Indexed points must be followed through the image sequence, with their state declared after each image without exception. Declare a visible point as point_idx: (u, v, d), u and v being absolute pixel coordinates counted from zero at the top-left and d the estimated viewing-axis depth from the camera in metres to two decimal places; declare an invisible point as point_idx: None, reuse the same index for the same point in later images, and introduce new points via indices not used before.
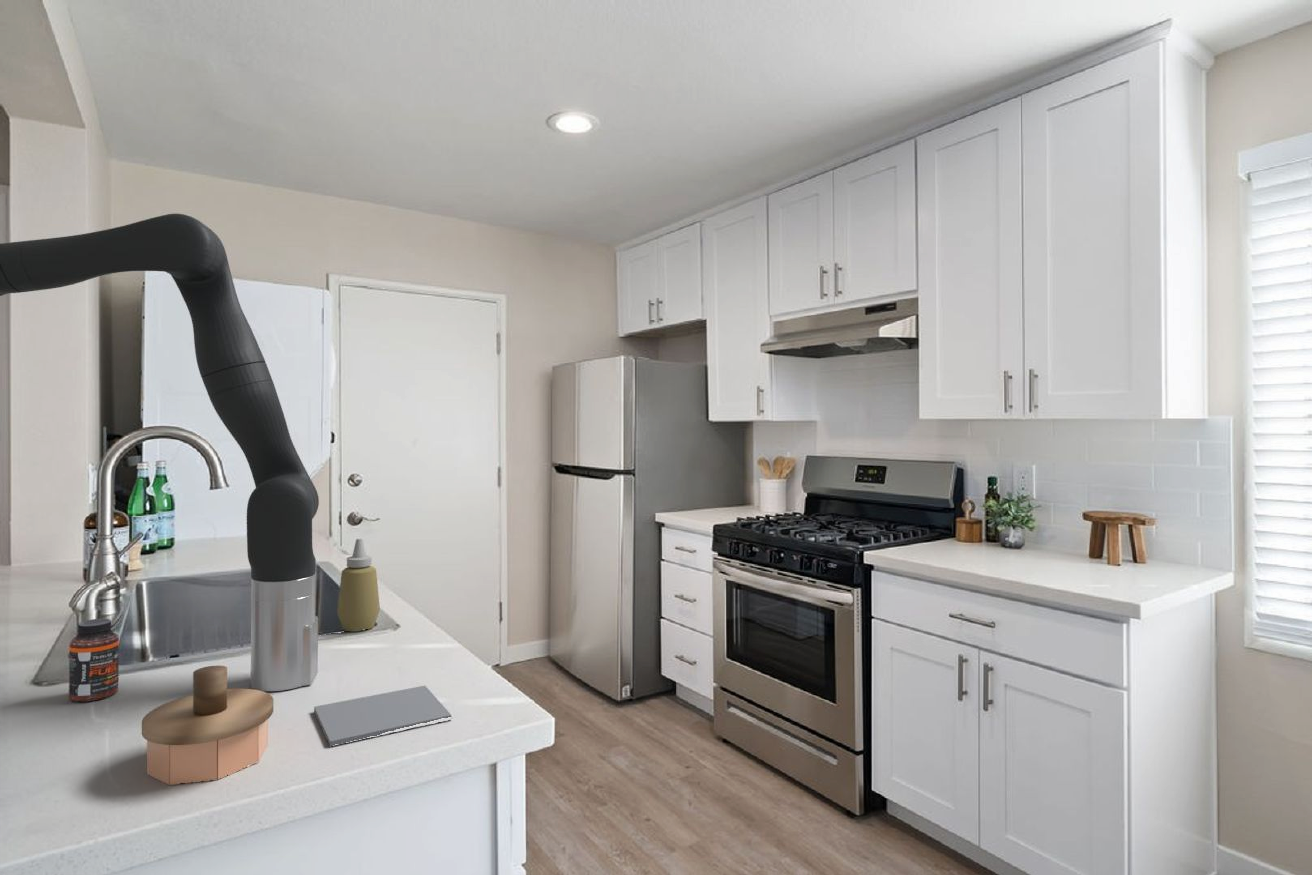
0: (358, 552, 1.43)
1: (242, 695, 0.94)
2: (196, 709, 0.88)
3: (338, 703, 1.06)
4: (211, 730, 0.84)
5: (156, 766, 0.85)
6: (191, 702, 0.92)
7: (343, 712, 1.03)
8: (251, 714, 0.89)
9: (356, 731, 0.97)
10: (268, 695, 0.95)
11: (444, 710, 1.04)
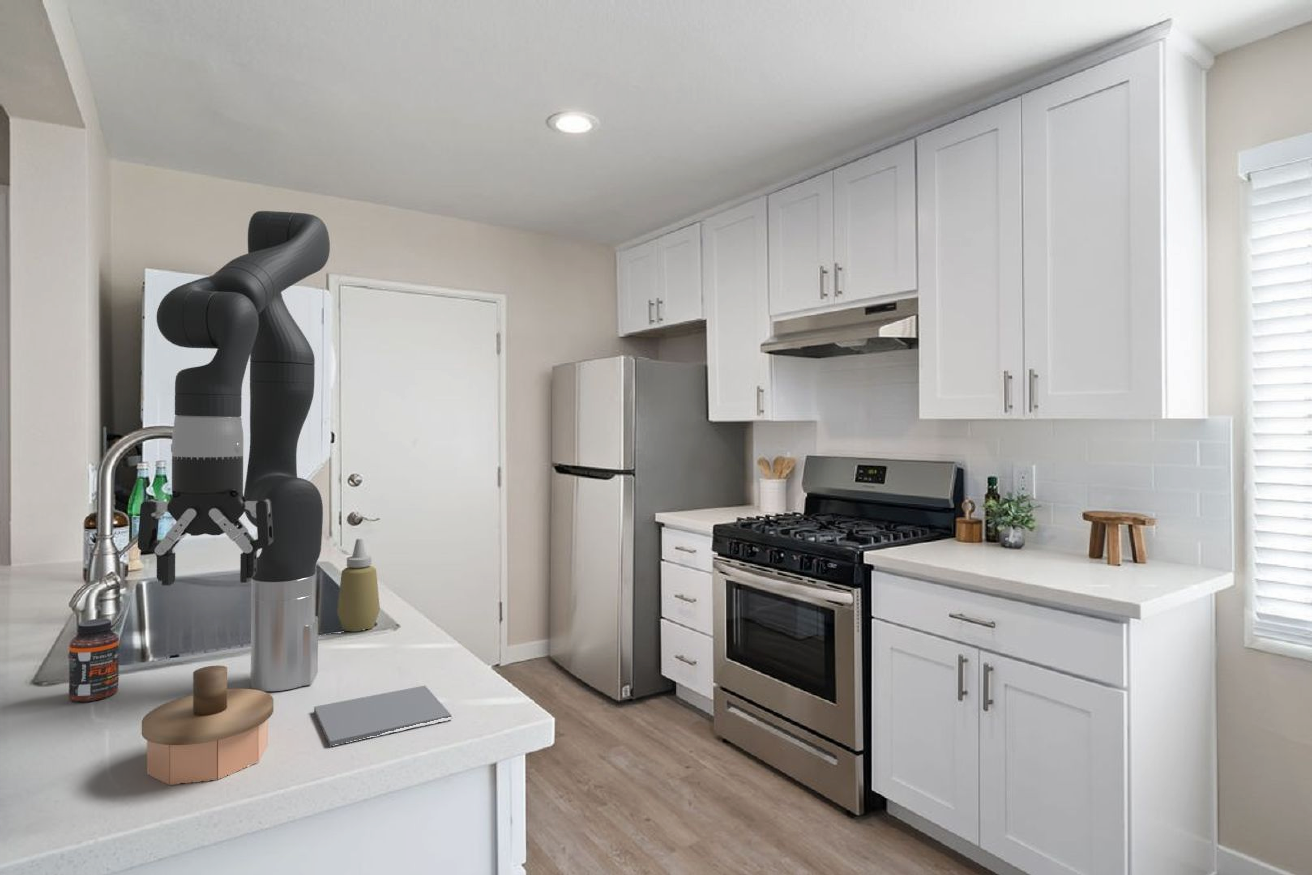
0: (358, 552, 1.43)
1: (242, 695, 0.94)
2: (196, 709, 0.88)
3: (338, 703, 1.06)
4: (211, 730, 0.84)
5: (156, 766, 0.85)
6: (191, 702, 0.92)
7: (343, 712, 1.03)
8: (251, 714, 0.89)
9: (356, 731, 0.97)
10: (268, 695, 0.95)
11: (444, 710, 1.04)
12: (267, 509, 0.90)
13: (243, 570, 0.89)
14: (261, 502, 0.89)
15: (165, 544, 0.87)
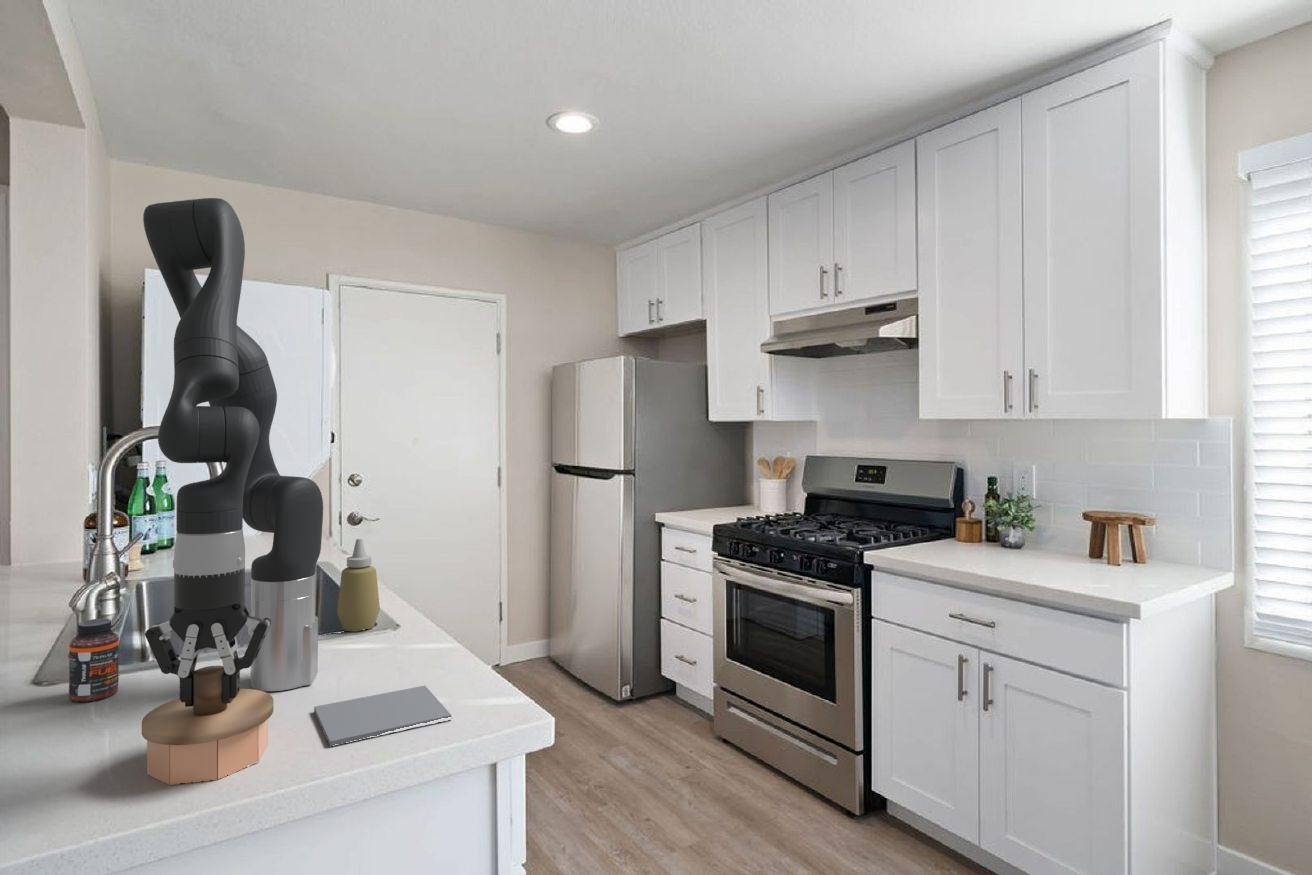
0: (358, 552, 1.43)
1: (242, 695, 0.94)
2: (196, 709, 0.88)
3: (338, 703, 1.06)
4: (211, 730, 0.84)
5: (156, 766, 0.85)
6: None
7: (343, 712, 1.03)
8: (251, 714, 0.89)
9: (356, 731, 0.97)
10: (268, 695, 0.95)
11: (444, 710, 1.04)
12: (265, 632, 0.91)
13: (226, 691, 0.89)
14: (262, 625, 0.90)
15: (185, 666, 0.88)
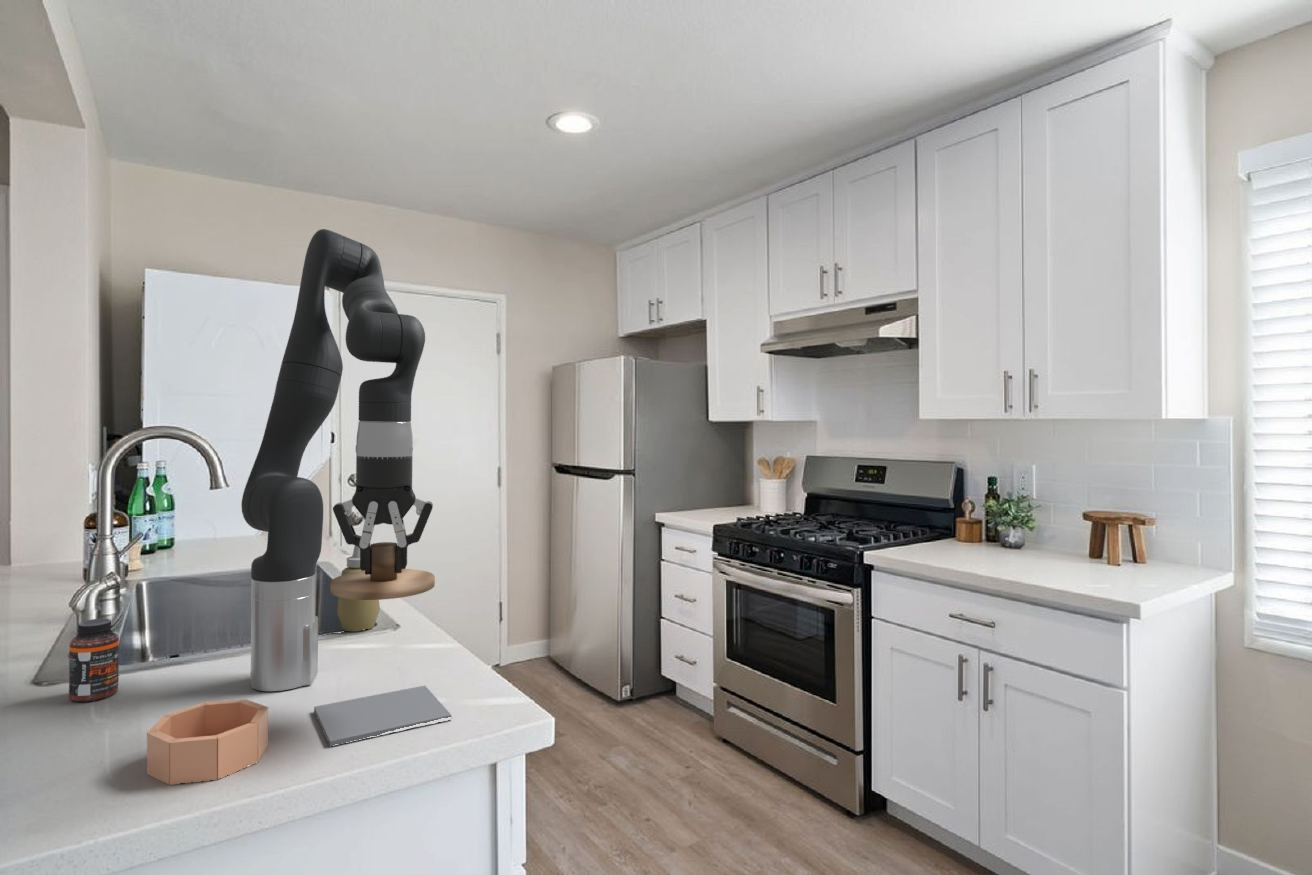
0: (358, 552, 1.43)
1: (404, 572, 1.08)
2: (374, 576, 1.01)
3: (338, 703, 1.06)
4: (394, 589, 0.97)
5: (156, 766, 0.85)
6: (364, 575, 1.05)
7: (343, 712, 1.03)
8: (421, 581, 1.02)
9: (356, 731, 0.97)
10: (427, 572, 1.08)
11: (444, 710, 1.04)
12: (430, 512, 1.04)
13: (398, 562, 1.02)
14: (429, 505, 1.03)
15: (365, 538, 1.01)
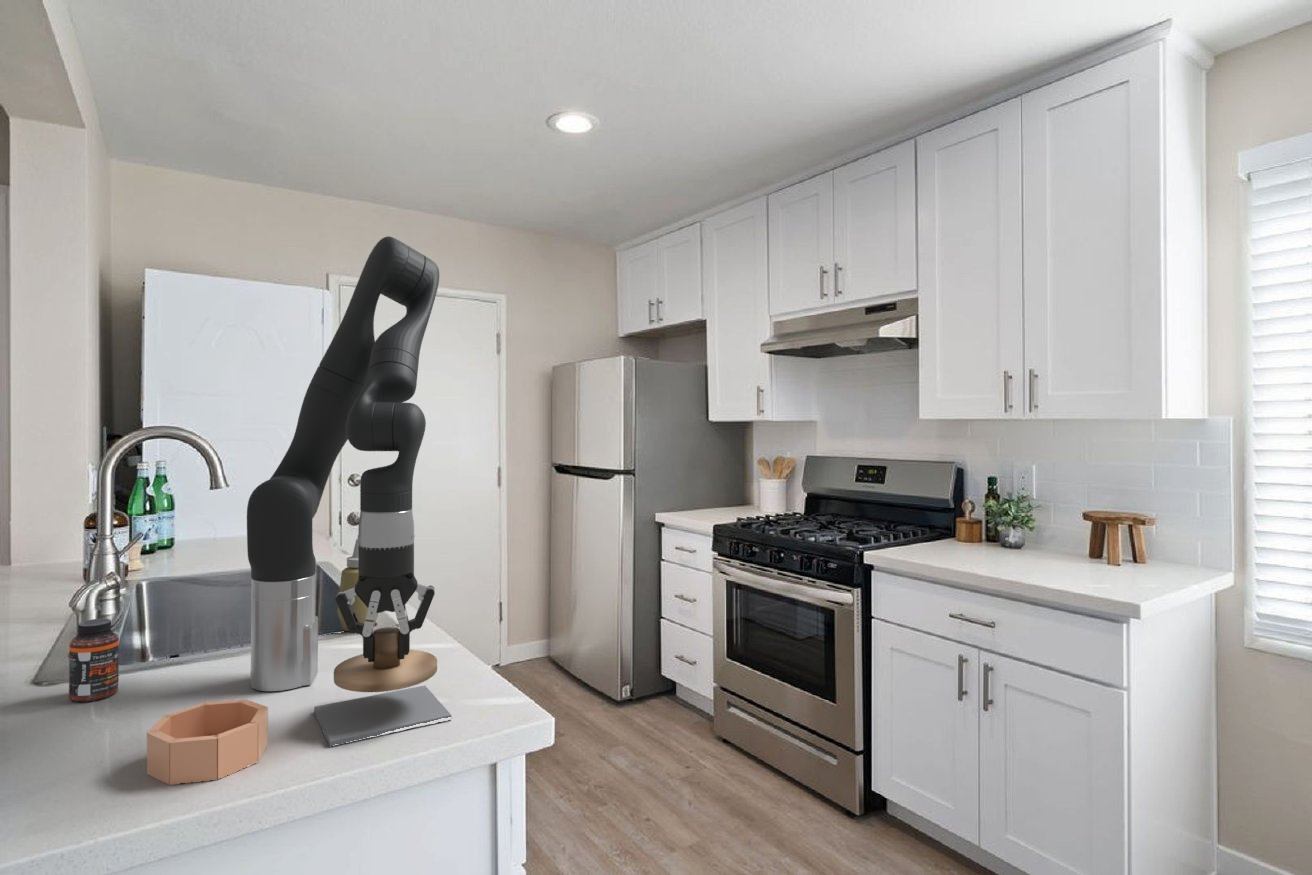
0: None
1: None
2: (377, 664, 1.02)
3: (338, 703, 1.06)
4: (398, 679, 0.98)
5: (156, 766, 0.85)
6: (366, 660, 1.06)
7: (343, 712, 1.03)
8: (424, 668, 1.03)
9: (356, 731, 0.97)
10: (428, 654, 1.09)
11: (444, 710, 1.04)
12: (432, 598, 1.05)
13: (401, 649, 1.03)
14: (431, 591, 1.04)
15: (368, 626, 1.02)
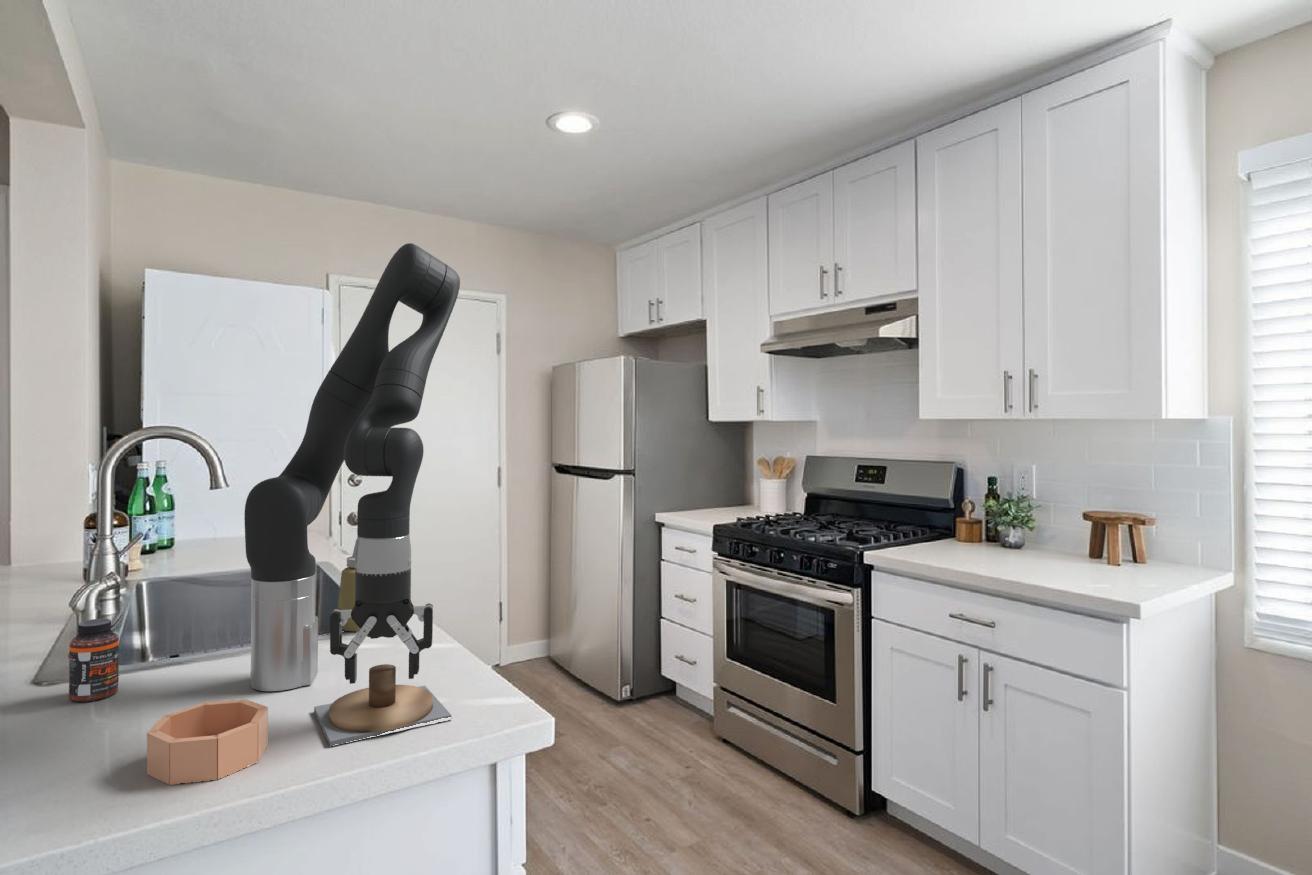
0: None
1: (402, 690, 1.08)
2: (373, 702, 1.02)
3: None
4: (392, 720, 0.98)
5: (156, 766, 0.85)
6: (362, 696, 1.05)
7: None
8: (419, 706, 1.02)
9: None
10: (425, 690, 1.08)
11: (444, 710, 1.04)
12: (432, 615, 1.04)
13: (411, 668, 1.03)
14: (428, 609, 1.04)
15: (352, 648, 1.01)
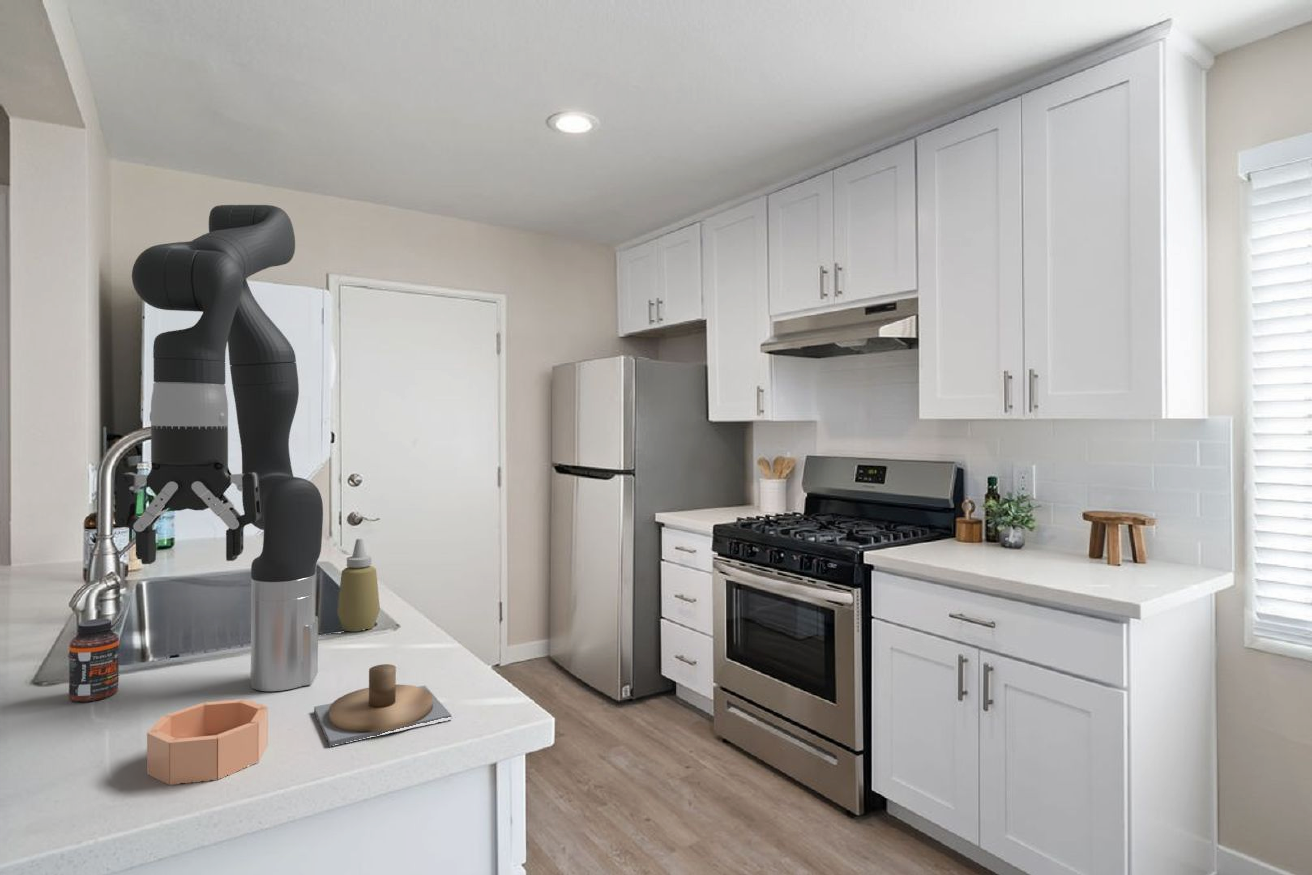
0: (358, 552, 1.43)
1: (402, 690, 1.08)
2: (373, 702, 1.02)
3: None
4: (392, 720, 0.98)
5: (156, 766, 0.85)
6: (362, 696, 1.05)
7: None
8: (419, 706, 1.02)
9: None
10: (425, 690, 1.08)
11: (444, 710, 1.04)
12: (254, 482, 0.85)
13: (229, 547, 0.84)
14: (248, 475, 0.84)
15: (144, 520, 0.81)
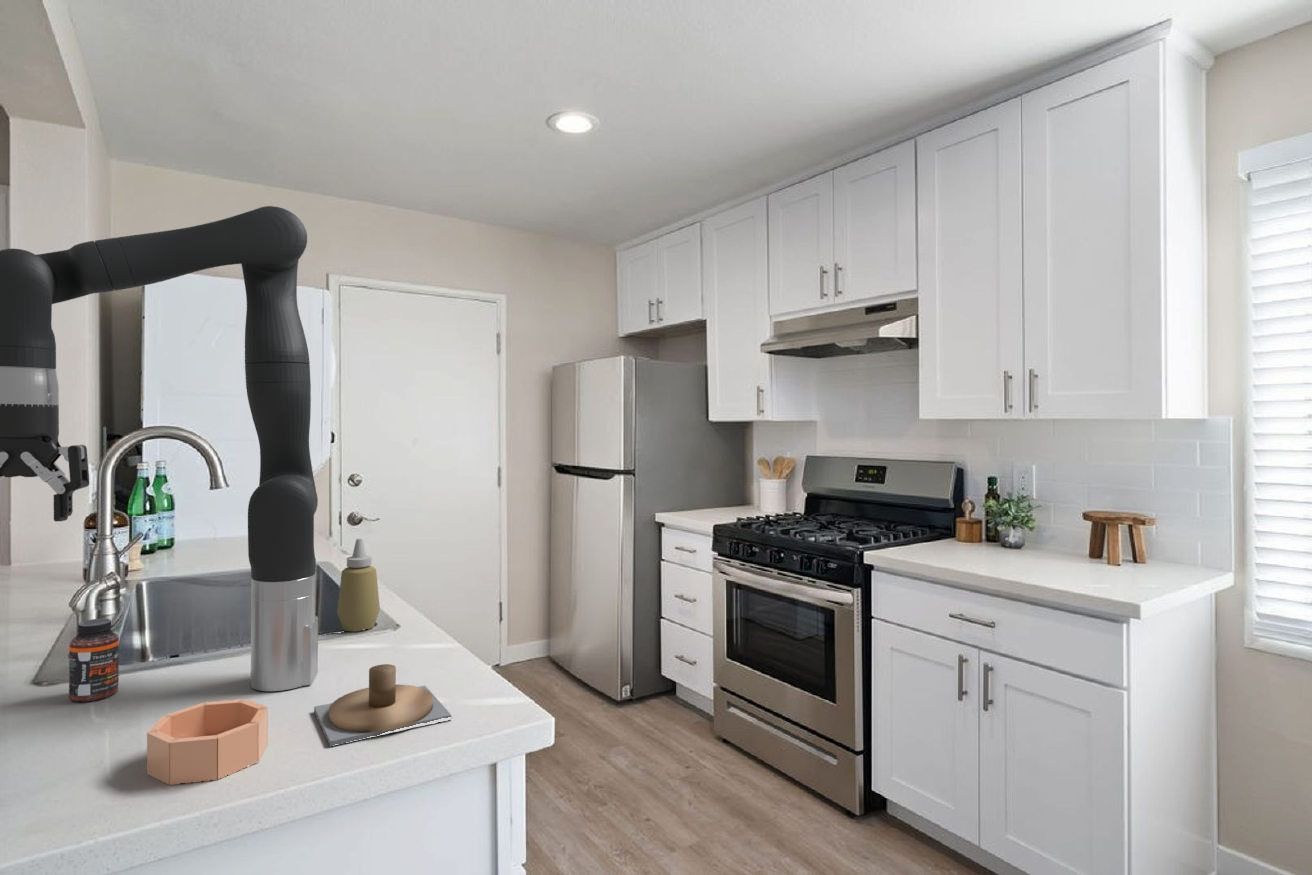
0: (358, 552, 1.43)
1: (402, 690, 1.08)
2: (373, 702, 1.02)
3: None
4: (392, 720, 0.98)
5: (156, 766, 0.85)
6: (362, 696, 1.05)
7: None
8: (419, 706, 1.02)
9: None
10: (425, 690, 1.08)
11: (444, 710, 1.04)
12: (79, 454, 0.98)
13: (56, 509, 0.97)
14: (73, 447, 0.97)
15: None
